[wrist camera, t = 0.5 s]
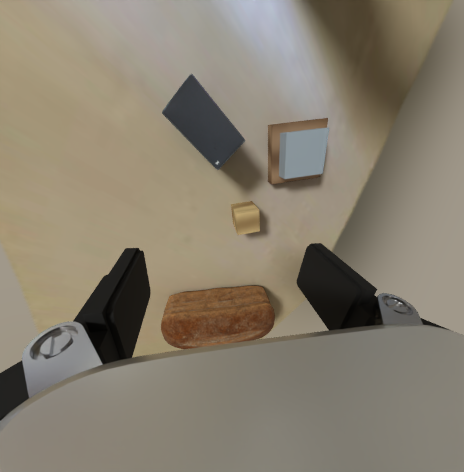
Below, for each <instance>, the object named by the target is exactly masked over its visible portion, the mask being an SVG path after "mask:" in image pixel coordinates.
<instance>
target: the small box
mask: <svg viewBox="0 0 464 472" xmlns="http://www.w3.org/2000/svg"><path fill="white" fill-rule="evenodd" d="M162 114H163V115H164V116H165V117H166V118H167V119H168V120H169V121H170V122H171V123H172V124H173V125H174V126H175V127H176V128H177V129H178V130H179V131H180V132H181V133H182V134H183V136H184V137H185V138H186V139H187V140H188V141H189V142H190V143H191V144H192V145H193V146H194V147H195V148H196V149H197V150H198V151H199V152H200V153H201V154H202V155H203V156H204V157H205V158H206V159H207V160H208V161H209V162H210V163H211V164H212V165H213V166H214V167H215V168H216V169H217V170H219V169H220V168H221V167H222V166H223V164H224V163H225V162H226V161H227V160H228V159H229V158H230V157H231V156H232V155H233V154H234V153H235V151H236V150H237V149H238V148H239V147H240V146H241V145H242V144H243V143H244V142H245V139H244V138H243V137H242V136H241V134H240V133H239V132H238V131H237V129H236V128H235V127H234V126H233V124H232V123H231V122H230V121H229V119H228V118H227V117H226V116H225V114H224V113H223V112H222V111H221V109H220V108H219V107H218V106H217V104H216V103H215V102H214V101H213V99H212V98H211V97H210V96H209V94H208V93H207V92H206V91H205V89H204V88H203V87H202V86H201V84H200V83H199V82H198V81H197V79H196V78H195V77H194V76H193V74H191V75H190V76H189V77H188V78H187V79H186V80H185V82H184V83H183V84H182V86H181V87H180V88H179V90H178V91H177V92H176V94H175V95H174V96H173V98H172V99H171V100H170V102H169V103H168V104H167V106H166V107H165V108H164V110H163V111H162Z"/></svg>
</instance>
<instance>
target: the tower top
mask: <svg viewBox="0 0 464 472" xmlns="http://www.w3.org/2000/svg"><path fill="white" fill-rule="evenodd" d="M328 133H329V128H317V129H309V130H301V131H293V132H284V133H280V155H279V176H280V177H281V178H283V179H289V178H296V177H303V176H310V175H317V174H323V168H324V161H325V154H326V147H327V140H328Z"/></svg>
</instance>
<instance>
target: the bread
mask: <svg viewBox="0 0 464 472" xmlns="http://www.w3.org/2000/svg"><path fill="white" fill-rule="evenodd" d="M274 320H275V314H274V309H273V307H272V306H271V304H270V301H269V299H268V296H267V294H266V292H265V290H264V289H263V287H260V286H242V287H231V288H215V289H209V290H202V291H190V292H182V293H178V294H174V295H171V296H170V297H169V299H168V302H167V305H166V307H165V311H164V315H163V318H162V323H161V331H162V334H163V336H164V339H165V341H166V342H167V343H168V344H170V345H172V346H174V347H177V348H181V349H189V348H190V349H191V348H199V347H206V346H214V345H221V344H229V343H236V342H244V341H251V340H256V339H259V338H261V337H263V336H265V335H266V334H268V333H269V332H270V331H271V329H272V328H273V325H274Z"/></svg>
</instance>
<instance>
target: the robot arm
mask: <svg viewBox="0 0 464 472" xmlns="http://www.w3.org/2000/svg"><path fill="white" fill-rule="evenodd" d="M297 285H298V287H299V288H300V290H301V291H302V293H303V294H304V295H305V297H306V298H307V300H308V301H309V302H310V304H311V305H312V307H313V308H314V310H315V311H316V312H317V314H318V315H319V317H320V318H321V319H322V321H323V322H324V324H325V325H326V327H327V328H328V329H329V331H323V332H314V333H307V334H299V335H290V336H282V337H274V338H267V339H259V340H251V341H244V342H236V343H229V344H221V345H214V346H206V347H199V348H191V349H184V350H178V351H171V352H164V353H158V354H151V355H144V356H139V357H134V358H132V355H133V352H134V349H135V345H136V342H137V338H138V335H139V332H140V328H141V325H142V322H143V318H144V315H145V312H146V308H147V305H148V302H149V298H150V286H149V280H148V274H147V268H146V263H145V257H144V252H143V251H140V250H139V248H126V249H125V250H124V252H123V253H122V255H121V256H120V258H119V259H118V261H117V262H116V264H115V265H114V267H113V268H112V270H111V271H110V273H109V274H108V275H106V276H104V277H103V278H102V280H101V281H100V283H99V284H98V286H97V287H96V289H95V290H94V292H93V293H92V294H91V296H90V297H89V299H88V300H87V302H86V303H85V305H84V306H83V308H82V309H81V311H80V312H79V313H78V315H77V316H76V318H75V319H74V321H73V322H64V323H60V324H57V325H55V326H52V327H50V328H48V329H47V330H45V331H43V332H41V333H40V334H39V335H38V336H36V337H35V338H34V339H33V340H32V341H31V342H30V343H29V344H28V345H27V346H26V348H25V350H24V352H23V355H22V361H21V362H19V363H17V364H15V365H13V366H12V367H10V368H8V369H7V370H5V371H3V372H2V373H0V472H464V335H462V334H459V333H457V332H454V331H451V330H449V329H446V328H444V327H441V326H439V325H436V324H434V323H431V322H429V321H426V320H424V319H422V318H420V316H419V314H418V312H417V311H416V309H415V308H414V307H413V306H412V305H411V304H410V303H408V302H407V301H405V300H403V299H402V298H400V297H397V296H395V295H392V294H387V293H382V294H379V295H378V297H376V296H375V295H374V294H375V292H376V290H377V289H376V288H375V287H374V286H372V285H371V284H370V283H369V282H368V281H366V280H365V279H364V278H363V277H362V276H360V275H359V274H358V273H357V272H355V271H354V270H353V269H352V268H351V267H349V266H348V265H347V264H346V263H344V262H343V261H342V260H341V259H339V258H338V257H337V256H336V255H335V254H333V253H332V252H331V251H330V250H328V249H327V248H326V247H325V246H324V245H322V244H321V243H315V244H310V245H309V246H308V247H307V248H306V252H305V255H304V258H303V262H302V265H301V268H300V272H299V275H298V278H297Z"/></svg>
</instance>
